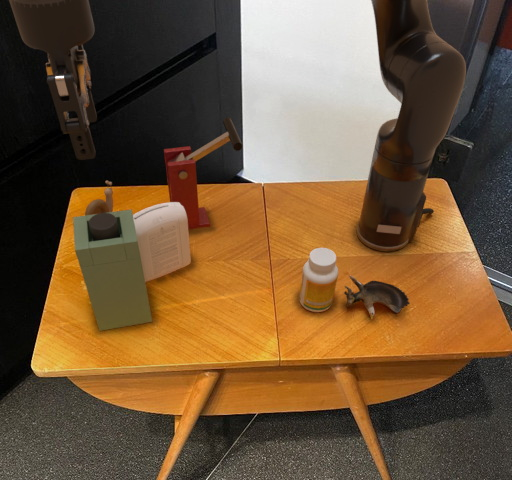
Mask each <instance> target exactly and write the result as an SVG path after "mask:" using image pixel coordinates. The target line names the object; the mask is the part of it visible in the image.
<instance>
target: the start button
mask: <svg viewBox="0 0 512 480" xmlns="http://www.w3.org/2000/svg"><path fill="white" fill-rule="evenodd" d="M89 226H90V230H91V234H92V238H93V241H99V240H106V239H113V238H120V234H119V229H118V224H117V220H116V217H115V216H114V215H112V214H110V213H99V214H96V215H94V216H93V217H91V219H90V220H89Z"/></svg>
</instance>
